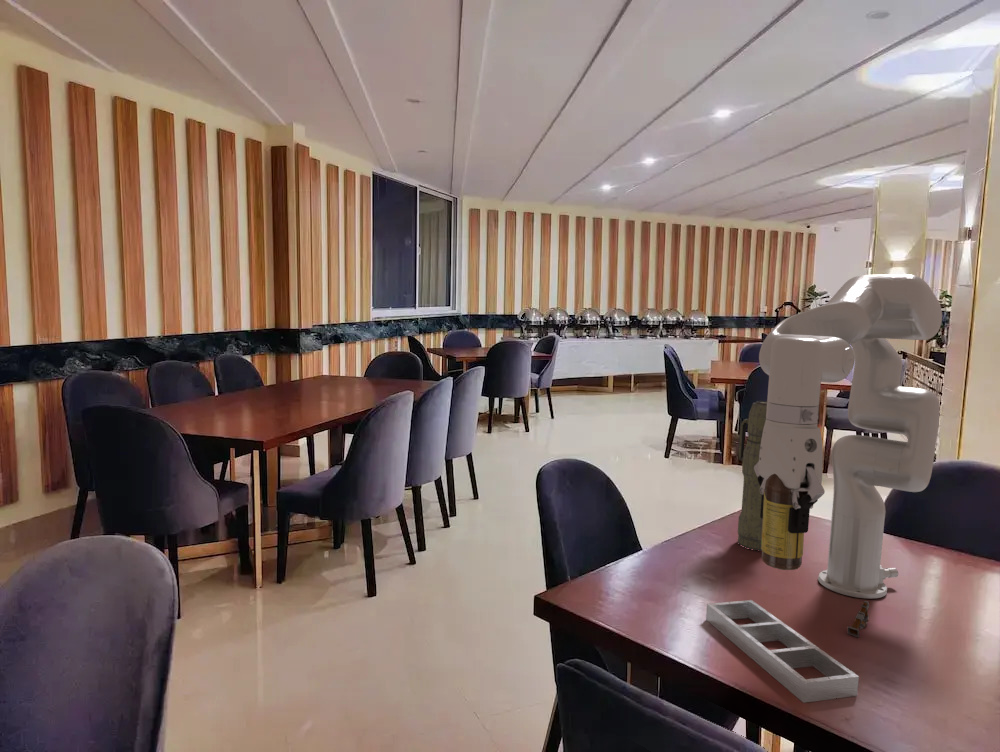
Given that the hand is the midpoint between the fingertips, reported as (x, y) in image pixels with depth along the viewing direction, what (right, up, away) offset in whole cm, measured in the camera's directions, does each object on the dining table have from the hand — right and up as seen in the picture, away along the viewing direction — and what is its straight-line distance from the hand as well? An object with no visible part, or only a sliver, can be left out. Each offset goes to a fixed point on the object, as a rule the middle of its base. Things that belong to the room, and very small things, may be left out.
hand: (783, 524), depth 107 cm
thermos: (+17, -17, +54) cm, 59 cm away
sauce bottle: (0, -7, +1) cm, 7 cm away
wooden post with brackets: (+18, -22, +12) cm, 31 cm away
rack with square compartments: (-1, -22, +2) cm, 22 cm away
